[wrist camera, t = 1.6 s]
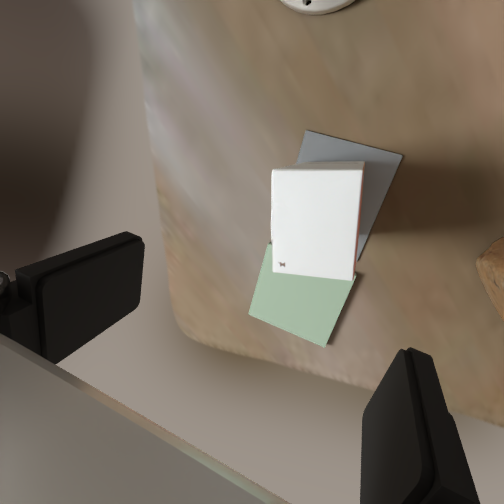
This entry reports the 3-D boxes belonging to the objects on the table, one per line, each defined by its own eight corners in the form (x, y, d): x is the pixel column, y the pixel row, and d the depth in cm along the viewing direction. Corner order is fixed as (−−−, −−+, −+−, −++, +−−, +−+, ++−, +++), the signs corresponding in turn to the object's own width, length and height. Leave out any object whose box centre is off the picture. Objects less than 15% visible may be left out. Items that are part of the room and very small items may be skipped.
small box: (359, 235, 33) (354, 284, 21) (302, 231, 35) (270, 274, 23) (366, 159, 30) (364, 168, 18) (304, 160, 32) (268, 168, 21)
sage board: (270, 242, 37) (268, 243, 36) (356, 273, 34) (356, 276, 34) (250, 311, 41) (248, 314, 41) (325, 344, 39) (324, 347, 38)
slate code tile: (306, 130, 31) (305, 130, 31) (402, 155, 29) (402, 155, 29) (276, 232, 36) (276, 232, 36) (357, 260, 34) (356, 261, 34)
